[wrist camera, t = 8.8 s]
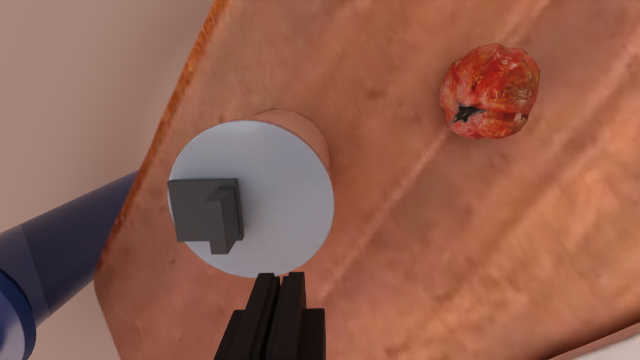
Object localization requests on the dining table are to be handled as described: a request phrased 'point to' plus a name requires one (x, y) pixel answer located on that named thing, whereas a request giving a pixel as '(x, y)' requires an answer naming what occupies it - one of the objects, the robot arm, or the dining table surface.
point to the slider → (207, 212)
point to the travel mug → (266, 189)
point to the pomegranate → (490, 92)
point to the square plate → (609, 347)
